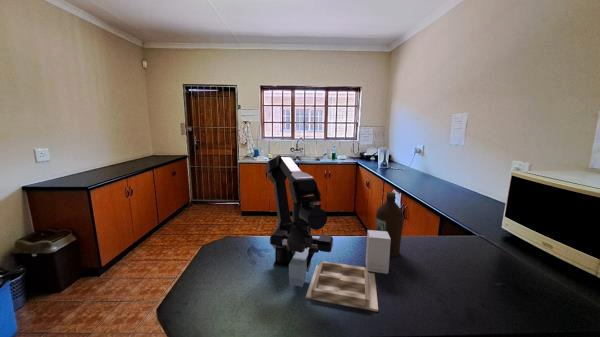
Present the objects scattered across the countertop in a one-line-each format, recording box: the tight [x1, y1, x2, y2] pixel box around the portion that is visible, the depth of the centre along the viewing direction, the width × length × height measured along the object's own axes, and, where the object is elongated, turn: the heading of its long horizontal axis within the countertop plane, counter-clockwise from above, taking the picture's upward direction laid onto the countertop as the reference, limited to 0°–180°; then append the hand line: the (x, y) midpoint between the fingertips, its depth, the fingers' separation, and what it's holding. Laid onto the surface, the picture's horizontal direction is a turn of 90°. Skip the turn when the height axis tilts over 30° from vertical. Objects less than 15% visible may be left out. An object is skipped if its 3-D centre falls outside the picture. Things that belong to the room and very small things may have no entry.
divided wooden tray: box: [305, 260, 379, 312], centre depth 76 cm, size 20×18×3 cm
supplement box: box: [365, 229, 391, 275], centre depth 86 cm, size 7×7×13 cm
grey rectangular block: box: [288, 248, 312, 287], centre depth 74 cm, size 4×13×6 cm, turn 166°
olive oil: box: [375, 191, 405, 258], centre depth 98 cm, size 11×11×25 cm
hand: (300, 266), depth 74 cm, fingers closed on grey rectangular block, 4 cm apart
